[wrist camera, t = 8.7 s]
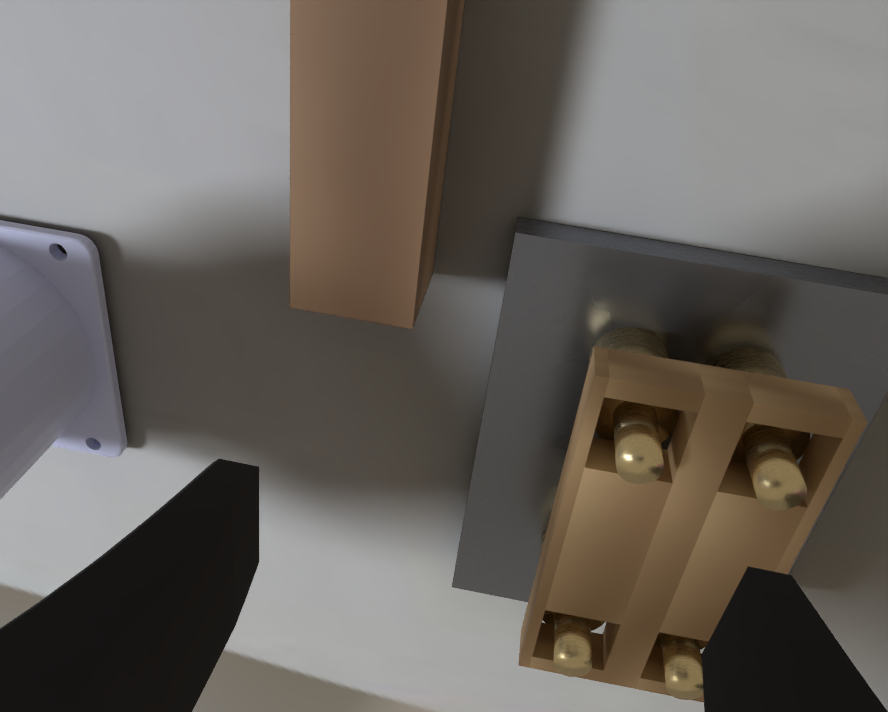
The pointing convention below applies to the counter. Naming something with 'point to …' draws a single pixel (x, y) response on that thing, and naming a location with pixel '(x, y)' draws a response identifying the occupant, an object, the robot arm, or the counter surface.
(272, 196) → the counter surface
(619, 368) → the wooden frame
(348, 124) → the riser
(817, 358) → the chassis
